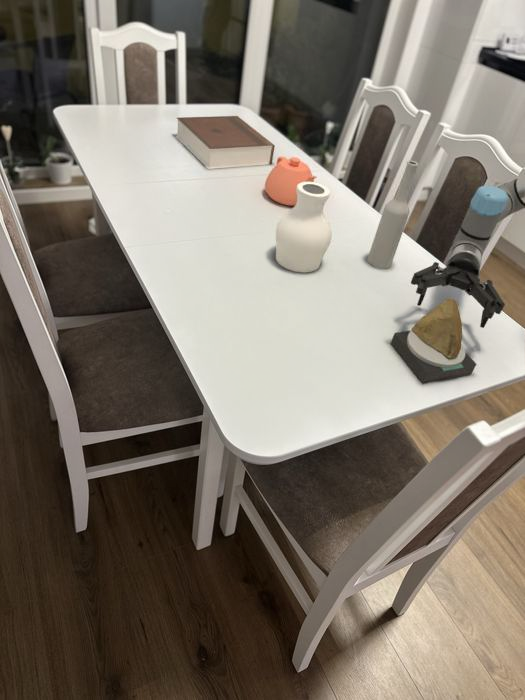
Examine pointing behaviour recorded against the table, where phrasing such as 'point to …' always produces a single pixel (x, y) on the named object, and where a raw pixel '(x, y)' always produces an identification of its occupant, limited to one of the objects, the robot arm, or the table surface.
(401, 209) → the bottle
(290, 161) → the teapot
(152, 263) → the table surface
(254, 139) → the book
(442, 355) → the scale
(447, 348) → the rock
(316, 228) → the vase
